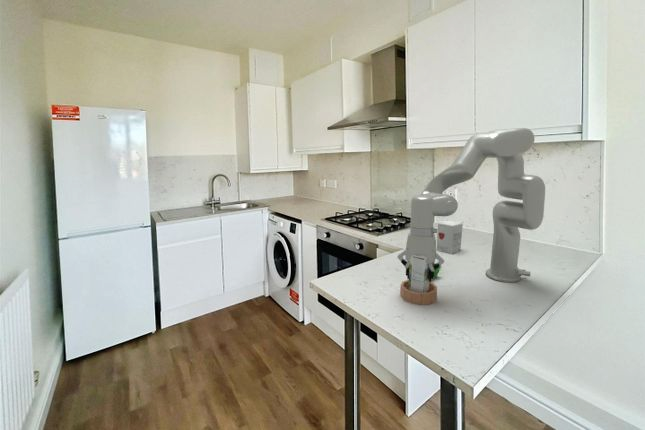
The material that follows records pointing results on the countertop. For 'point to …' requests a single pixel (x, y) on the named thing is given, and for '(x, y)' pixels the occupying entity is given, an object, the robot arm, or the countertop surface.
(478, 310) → the countertop surface
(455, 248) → the supplement box
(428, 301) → the bowl
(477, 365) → the countertop surface
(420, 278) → the syrup box
